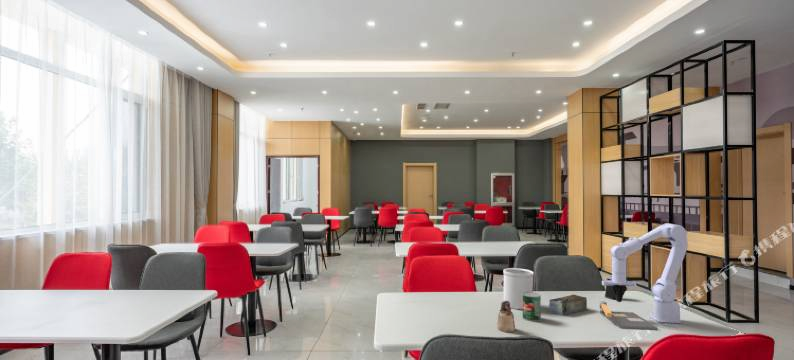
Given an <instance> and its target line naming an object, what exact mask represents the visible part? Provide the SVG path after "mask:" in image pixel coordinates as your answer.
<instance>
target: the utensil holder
mask: <svg viewBox="0 0 794 360" xmlns="http://www.w3.org/2000/svg"><path fill="white" fill-rule="evenodd" d="M502 273H503V301H509V302H510V307H511V309H514V310H523V293H524V292H533V289H534V275H535V273H534V271H532V270H530V269H527V268H526V269H524V268H517V267H515V268H514V267H513V268H512V267H509V268H508V267H507V268H504V269H503V272H502ZM533 293H534V292H533Z"/></svg>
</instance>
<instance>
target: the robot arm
mask: <svg viewBox="0 0 794 360" xmlns="http://www.w3.org/2000/svg"><path fill="white" fill-rule="evenodd" d="M687 235H688V231H687V229H685V228H684V226H682V225H680V224H674V223H668V222H666V223H663V224H662V225H658V226H657V227H656V228H653V229H652V230H651V231H648V232H647V233H645V234H643V235H642V236H640V237H638V238H637V237H629V238H628V240H626V241H624V242H620V243H619V245H614V246H612V247H611V249H610V250H609V254H610V255H611V259H612V260H611V279H612V280H608V281H607V280H601V285H602V286H604V287H606V285H609V286H611V287H612V289H613V291H614V293H615V296H616V298H615V300H616V302H617V303H621V302H622V301H623V297H624V296H625V295H624V294H626V292H627V290H628V287H635V288H636V287H637V282H636V281H629V280H627V258H628V257H629V256H630V255H632V254H633V253H636V252H637V251H640V250H641V249H642V248H643V246H644V245H645V244H648V243H649V242H653V241H655V240H656V239H659V238H666V239H667V240H668V241H669V242H670V243H671V246H672V247H671V249H670V251H669V255H668V258H667V261H666V263H665V265H664V266H665V267H664V269H663V271H662V273H661V277H660V278H658V279H657V280H656V282H655V284H654V285H652V287H651V293H652V295H653V297H654V298H653V311H654V312H653V315H649V318H652V319H653V320H655V321H656V322H658V323H666V324H667V323H669V324H681V323H682V322H681V308H680V307H681V306H680V303H678V301H676V300H675V299H676V298H677V294H676V292H677V285H676V283H675V282H676V280H677V278H678V275H679V271H680V269H681V266H682V264H683V261H684V259H685V256H686V253H687V250H688V247H689V244H688V238H687Z"/></svg>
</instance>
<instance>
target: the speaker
mask: <svg viewBox="0 0 794 360" xmlns="http://www.w3.org/2000/svg"><path fill="white" fill-rule="evenodd" d="M608 280H612V278H606V281H608ZM604 297H605V298H607V299H610V300H613V301H614V299H616V296H615V293H614V291H613V289H612V287H611V286H609V285H606V286H605V294H604Z"/></svg>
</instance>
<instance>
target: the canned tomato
mask: <svg viewBox="0 0 794 360" xmlns="http://www.w3.org/2000/svg"><path fill="white" fill-rule="evenodd" d="M541 296H542V294H540V293H537V292H524V293H523V309H522V319H523V320H525V321H528V322H540V321H541V318H542V317H541V316H542V315H541V311H542V309H541V307H542V306H541V305H542V304H541V303H542V302H541V300H542V297H541Z"/></svg>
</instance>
